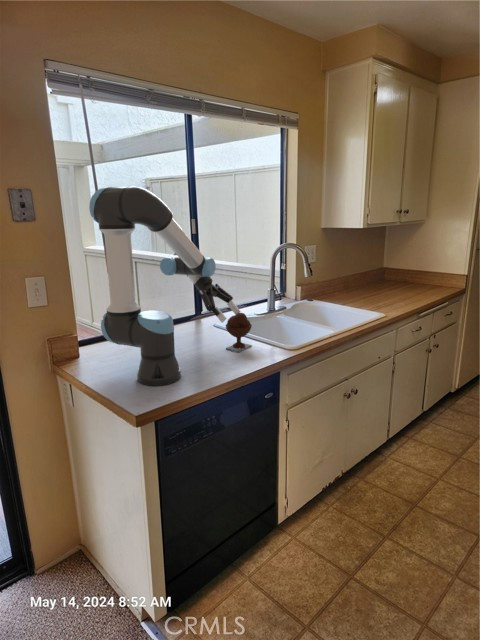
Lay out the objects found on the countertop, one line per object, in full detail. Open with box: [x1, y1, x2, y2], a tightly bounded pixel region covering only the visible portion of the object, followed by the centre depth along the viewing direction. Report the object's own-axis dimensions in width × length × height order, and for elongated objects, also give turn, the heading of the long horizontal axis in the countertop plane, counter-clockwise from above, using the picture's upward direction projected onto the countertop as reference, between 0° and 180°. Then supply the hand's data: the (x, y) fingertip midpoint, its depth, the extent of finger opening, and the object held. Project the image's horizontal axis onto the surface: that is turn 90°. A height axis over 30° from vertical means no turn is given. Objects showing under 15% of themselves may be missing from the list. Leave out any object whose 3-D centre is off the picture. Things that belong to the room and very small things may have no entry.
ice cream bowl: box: [225, 312, 252, 348], centre depth 174 cm, size 11×11×15 cm
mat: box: [225, 342, 253, 353], centre depth 176 cm, size 10×7×1 cm
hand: (231, 317), depth 175 cm, fingers open, 13 cm apart
